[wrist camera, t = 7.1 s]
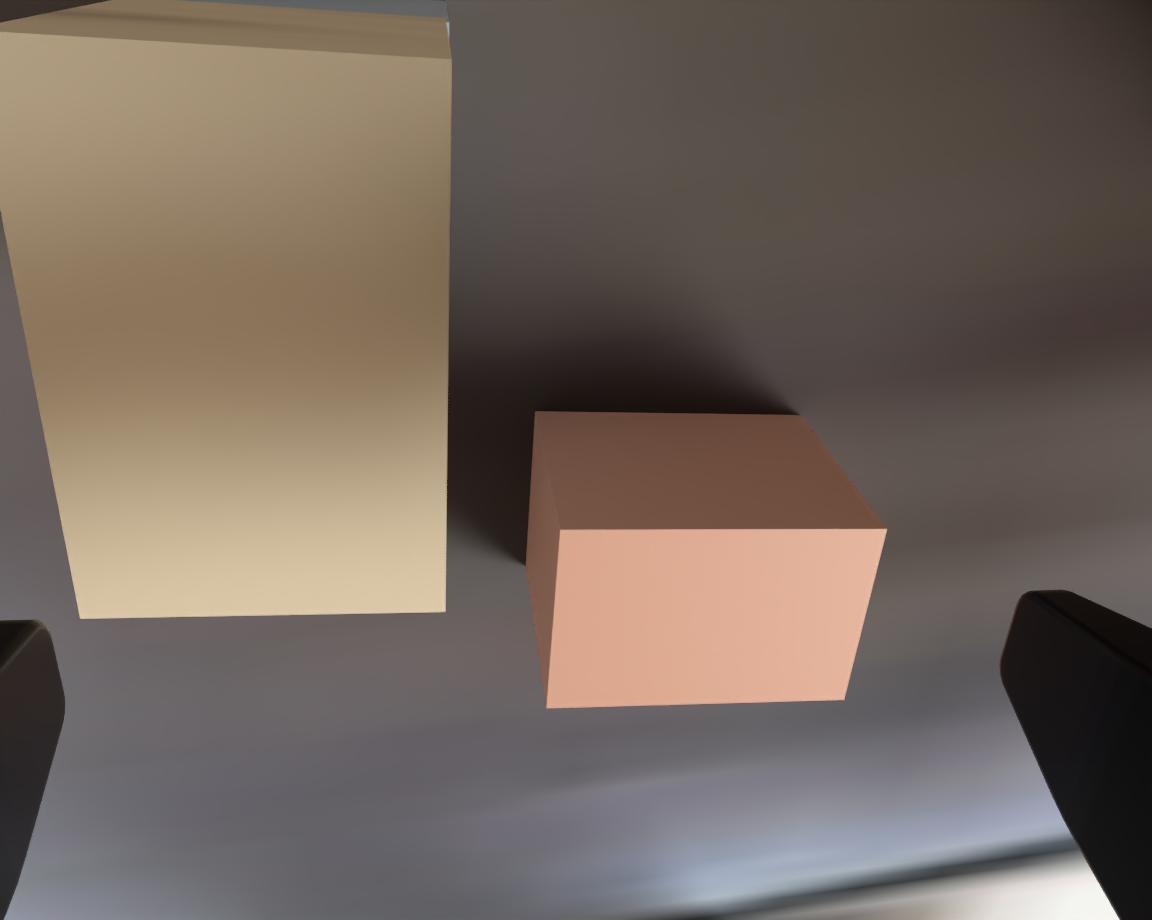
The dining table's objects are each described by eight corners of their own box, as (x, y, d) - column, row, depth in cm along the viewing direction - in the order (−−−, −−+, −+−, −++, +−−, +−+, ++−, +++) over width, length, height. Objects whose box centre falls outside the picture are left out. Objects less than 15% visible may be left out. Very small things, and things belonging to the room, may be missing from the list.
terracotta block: (798, 413, 22) (887, 528, 18) (770, 562, 24) (844, 699, 20) (534, 409, 22) (560, 529, 17) (525, 563, 23) (546, 708, 19)
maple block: (441, 425, 16) (445, 611, 12) (180, 423, 15) (79, 619, 11) (445, 18, 13) (450, 59, 9) (128, -4, 13) (-35, 29, 8)
